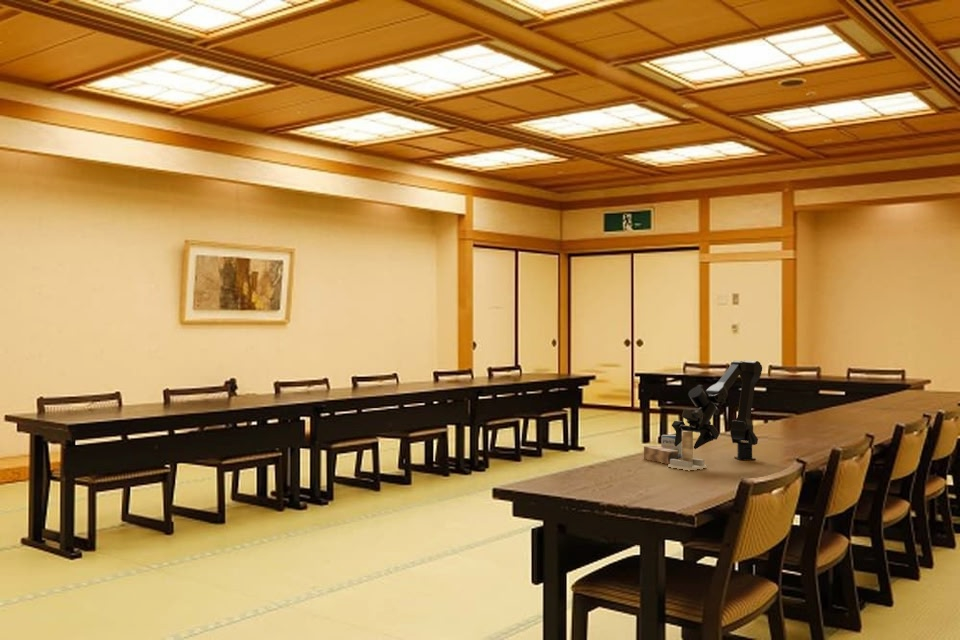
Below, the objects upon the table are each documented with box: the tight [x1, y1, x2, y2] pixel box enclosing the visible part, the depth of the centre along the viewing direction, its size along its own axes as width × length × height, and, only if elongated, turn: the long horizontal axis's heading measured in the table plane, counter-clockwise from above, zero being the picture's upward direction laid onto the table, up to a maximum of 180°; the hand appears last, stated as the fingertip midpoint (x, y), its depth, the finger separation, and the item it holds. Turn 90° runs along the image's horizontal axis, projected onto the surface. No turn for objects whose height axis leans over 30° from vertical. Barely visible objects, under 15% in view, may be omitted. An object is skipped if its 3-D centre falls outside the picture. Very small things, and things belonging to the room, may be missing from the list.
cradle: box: [667, 457, 707, 472], centre depth 336 cm, size 10×10×3 cm
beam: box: [643, 445, 680, 465], centre depth 352 cm, size 16×5×5 cm, turn 24°
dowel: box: [681, 431, 694, 465], centre depth 336 cm, size 4×4×12 cm
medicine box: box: [660, 434, 682, 458], centre depth 365 cm, size 8×4×9 cm, turn 73°
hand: (684, 446), depth 335 cm, fingers open, 9 cm apart
